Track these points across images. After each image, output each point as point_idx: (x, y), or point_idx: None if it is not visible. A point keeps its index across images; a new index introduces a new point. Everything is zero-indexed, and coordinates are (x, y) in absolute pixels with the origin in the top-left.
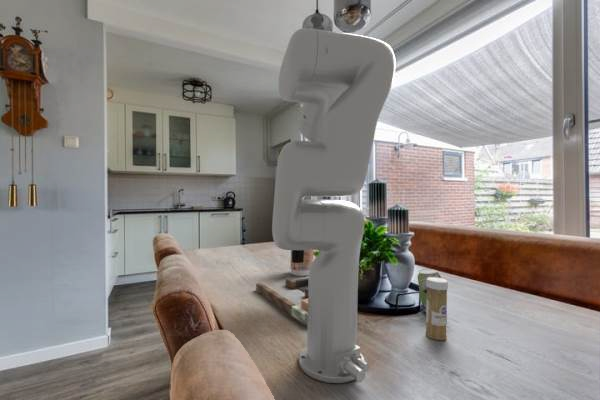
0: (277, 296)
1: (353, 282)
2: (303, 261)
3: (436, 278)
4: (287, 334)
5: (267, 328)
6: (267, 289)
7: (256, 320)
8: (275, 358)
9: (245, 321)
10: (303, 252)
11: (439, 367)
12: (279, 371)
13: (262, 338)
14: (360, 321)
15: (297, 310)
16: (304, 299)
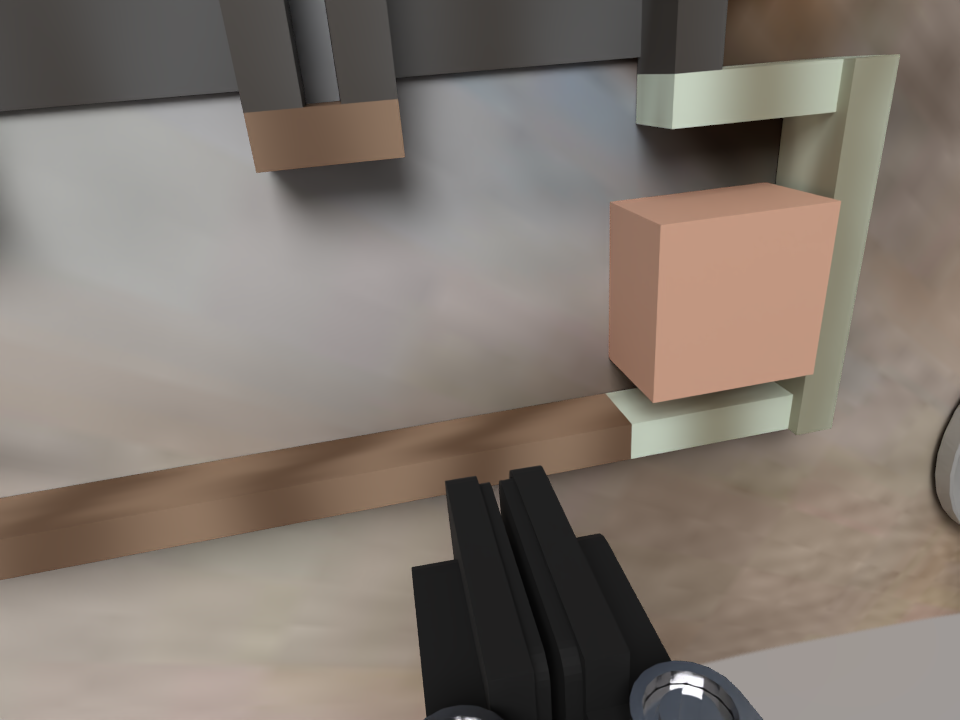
0: (396, 498)
1: None
2: (541, 466)
3: None
4: (777, 506)
5: (673, 572)
6: (176, 536)
7: None
8: (885, 584)
9: None
10: (598, 589)
11: None
12: (945, 586)
13: (741, 603)
14: (937, 21)
15: (705, 443)
16: (659, 377)
